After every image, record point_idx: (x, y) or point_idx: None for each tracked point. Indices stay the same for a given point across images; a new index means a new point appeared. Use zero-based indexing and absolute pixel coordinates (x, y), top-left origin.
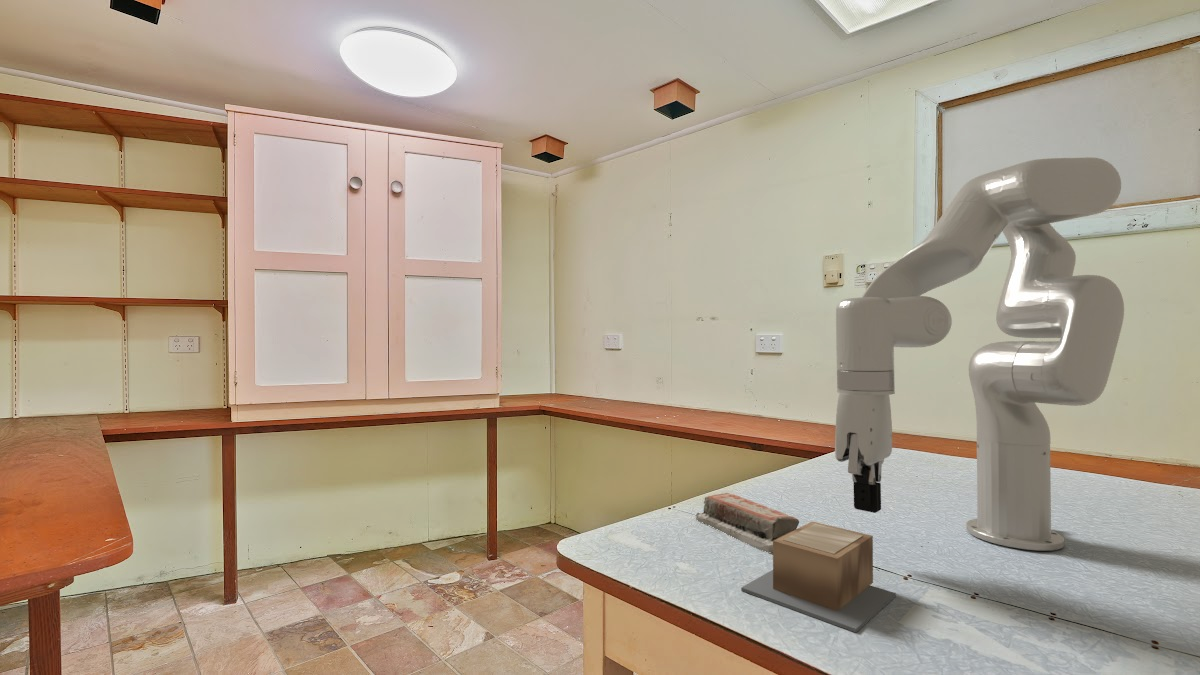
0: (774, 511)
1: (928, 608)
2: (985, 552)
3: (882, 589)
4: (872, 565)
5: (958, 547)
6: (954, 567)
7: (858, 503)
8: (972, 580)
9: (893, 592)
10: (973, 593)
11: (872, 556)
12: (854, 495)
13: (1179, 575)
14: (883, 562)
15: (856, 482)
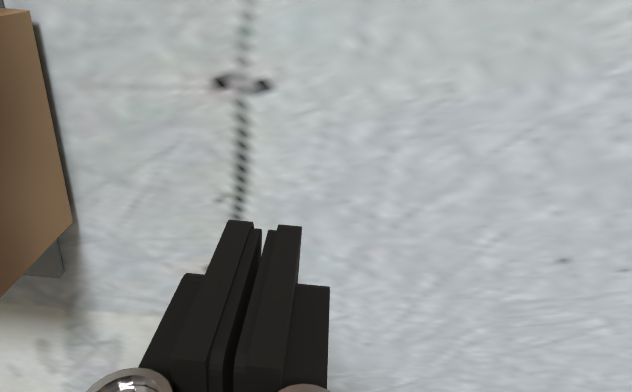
0: None
1: (68, 331)
2: (590, 387)
3: (49, 250)
4: (39, 253)
5: (606, 338)
6: (401, 345)
7: (188, 273)
8: (329, 378)
9: (57, 273)
10: None
11: (19, 274)
12: (206, 272)
13: None
14: (304, 198)
15: (134, 386)
